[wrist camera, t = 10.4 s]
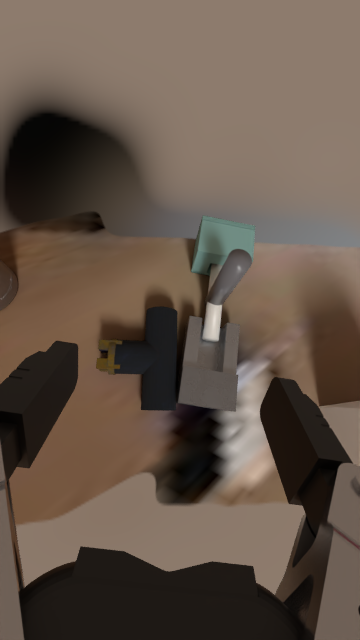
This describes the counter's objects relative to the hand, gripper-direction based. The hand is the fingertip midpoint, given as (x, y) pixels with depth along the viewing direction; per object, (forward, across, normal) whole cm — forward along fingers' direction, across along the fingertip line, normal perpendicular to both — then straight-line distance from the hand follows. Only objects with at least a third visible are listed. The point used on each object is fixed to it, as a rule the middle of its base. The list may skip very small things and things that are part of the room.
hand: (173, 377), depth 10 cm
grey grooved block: (+26, -7, +17) cm, 32 cm away
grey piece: (+34, -7, +8) cm, 36 cm away
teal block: (+40, -7, +4) cm, 40 cm away
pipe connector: (+26, +4, +18) cm, 32 cm away
